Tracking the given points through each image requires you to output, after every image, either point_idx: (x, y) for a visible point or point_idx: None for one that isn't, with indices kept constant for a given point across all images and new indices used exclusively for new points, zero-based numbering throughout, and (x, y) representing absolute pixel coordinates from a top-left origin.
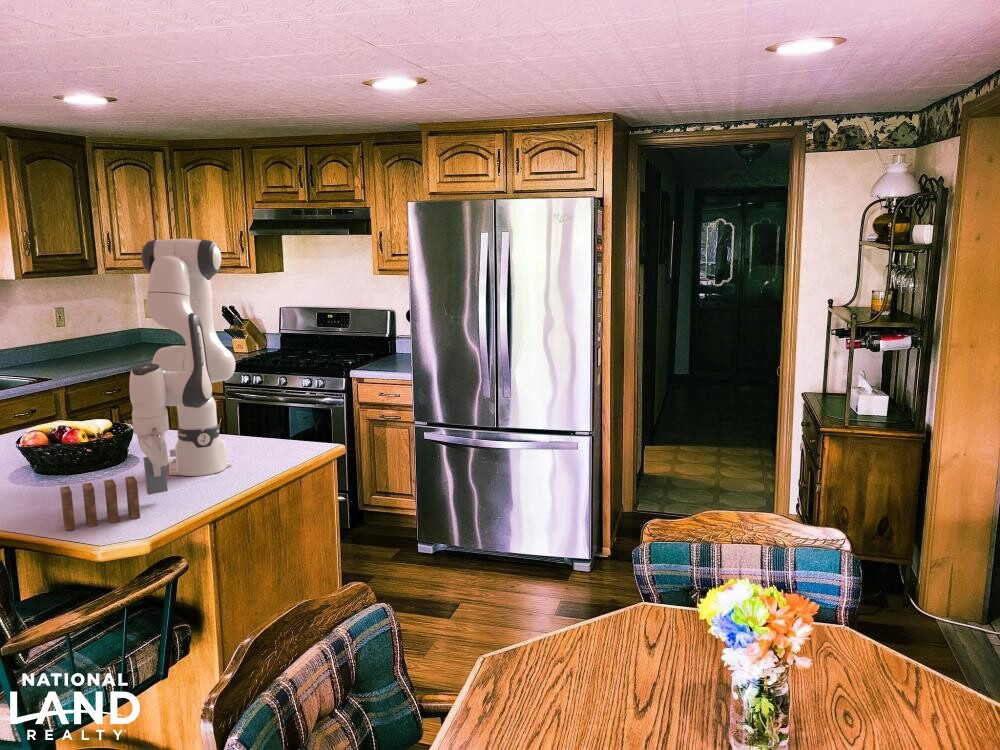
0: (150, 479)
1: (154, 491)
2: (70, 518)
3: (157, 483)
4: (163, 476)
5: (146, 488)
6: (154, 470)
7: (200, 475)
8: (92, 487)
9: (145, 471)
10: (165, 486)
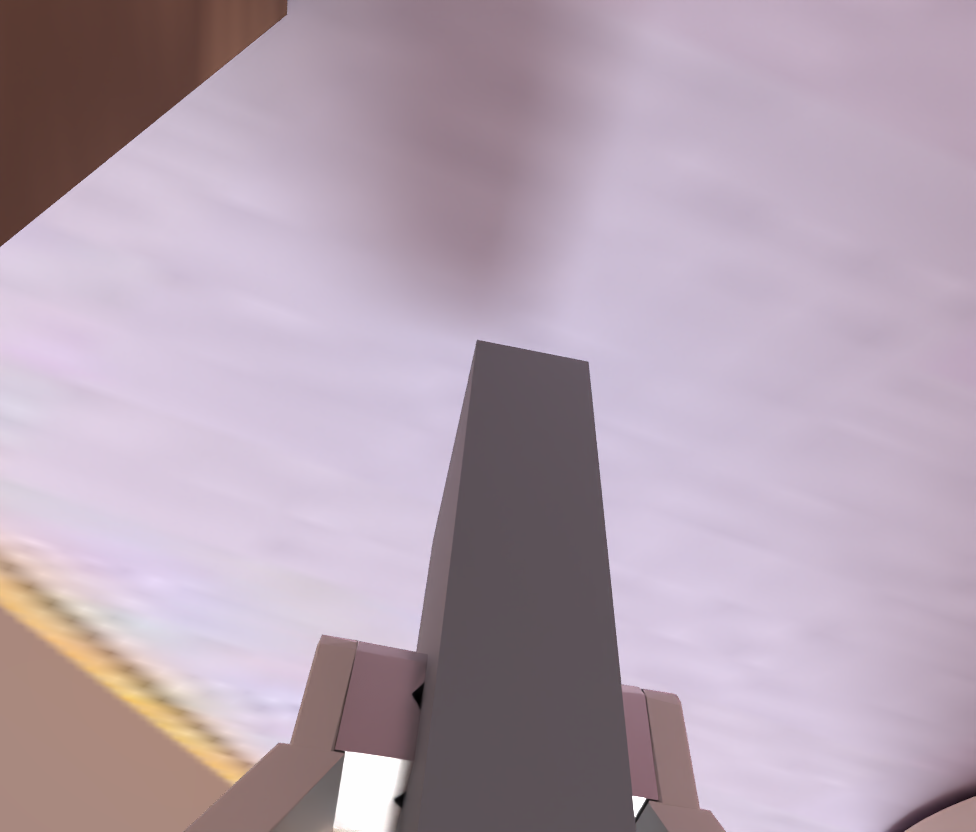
0: (446, 546)
1: (458, 432)
2: None
3: (438, 553)
4: None
5: (590, 399)
6: (278, 754)
7: (919, 822)
8: None
9: (513, 645)
10: (428, 576)
